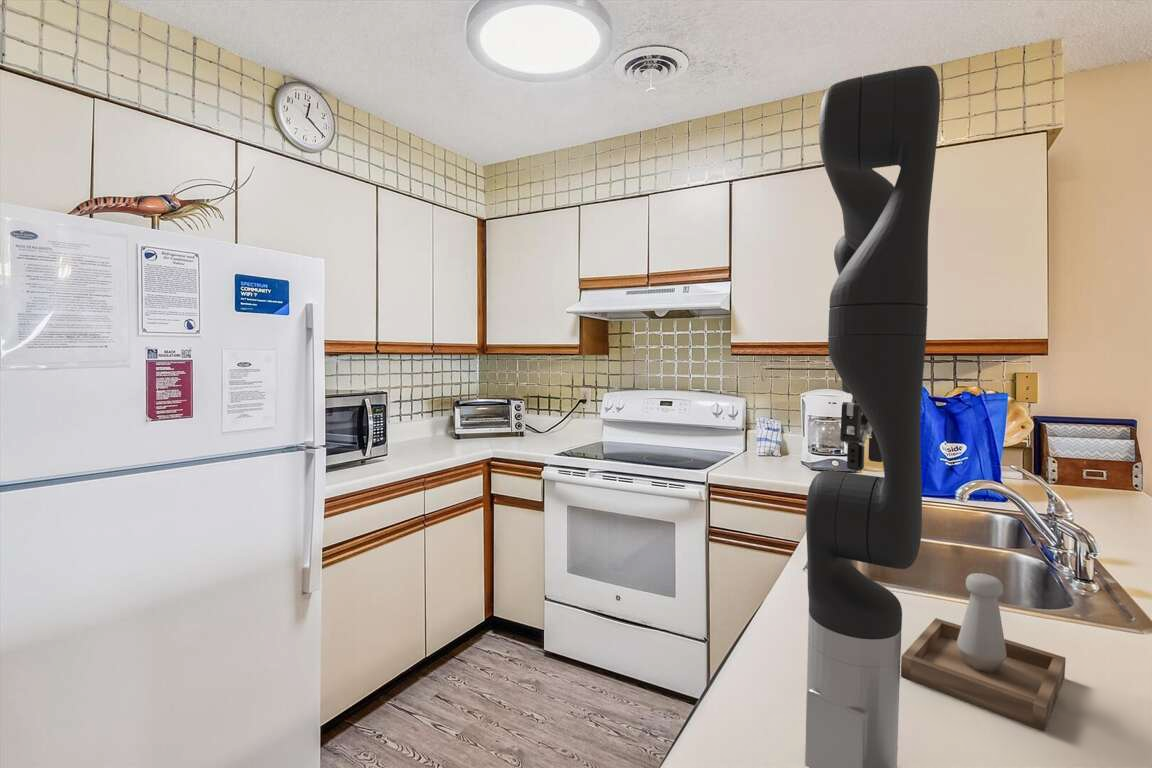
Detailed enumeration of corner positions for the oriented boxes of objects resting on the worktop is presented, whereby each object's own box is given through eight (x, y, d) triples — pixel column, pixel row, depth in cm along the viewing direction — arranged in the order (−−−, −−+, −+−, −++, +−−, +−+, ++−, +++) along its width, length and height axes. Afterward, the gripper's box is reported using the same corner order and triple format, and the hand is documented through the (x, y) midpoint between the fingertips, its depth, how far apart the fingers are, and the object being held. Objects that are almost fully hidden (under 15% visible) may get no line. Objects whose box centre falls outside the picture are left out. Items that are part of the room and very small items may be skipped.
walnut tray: (1044, 731, 70) (1045, 707, 70) (900, 676, 81) (901, 655, 81) (1064, 677, 81) (1065, 657, 80) (935, 636, 92) (935, 618, 92)
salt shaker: (983, 679, 79) (987, 587, 78) (946, 657, 84) (950, 571, 83) (1015, 672, 80) (1020, 582, 79) (977, 651, 86) (981, 566, 85)
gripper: (877, 364, 81) (874, 477, 82) (911, 361, 91) (907, 462, 92) (824, 363, 87) (822, 468, 88) (861, 360, 96) (859, 455, 98)
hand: (866, 465), depth 90 cm, fingers open, 8 cm apart
